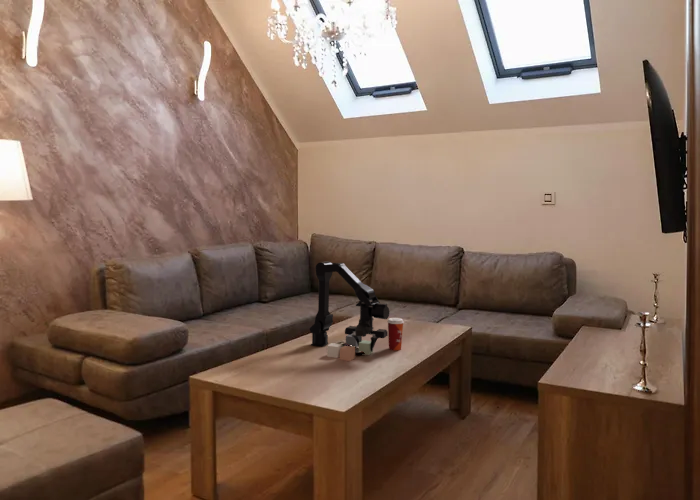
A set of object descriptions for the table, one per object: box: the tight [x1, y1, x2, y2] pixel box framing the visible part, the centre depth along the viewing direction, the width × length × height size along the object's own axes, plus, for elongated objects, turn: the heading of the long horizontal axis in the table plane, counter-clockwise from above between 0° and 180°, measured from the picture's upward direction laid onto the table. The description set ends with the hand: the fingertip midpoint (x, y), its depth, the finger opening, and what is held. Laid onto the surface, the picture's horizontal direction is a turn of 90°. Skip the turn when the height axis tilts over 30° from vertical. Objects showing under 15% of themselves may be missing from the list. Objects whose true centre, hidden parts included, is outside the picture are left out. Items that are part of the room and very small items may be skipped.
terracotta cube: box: [339, 345, 356, 362], centre depth 246 cm, size 5×5×5 cm
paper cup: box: [386, 317, 405, 352], centre depth 262 cm, size 8×8×14 cm
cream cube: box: [326, 342, 343, 359], centre depth 251 cm, size 5×5×5 cm
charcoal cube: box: [345, 334, 358, 348], centre depth 268 cm, size 5×5×5 cm
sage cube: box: [358, 339, 374, 356], centre depth 256 cm, size 5×5×5 cm
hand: (365, 350), depth 256 cm, fingers closed on sage cube, 5 cm apart
